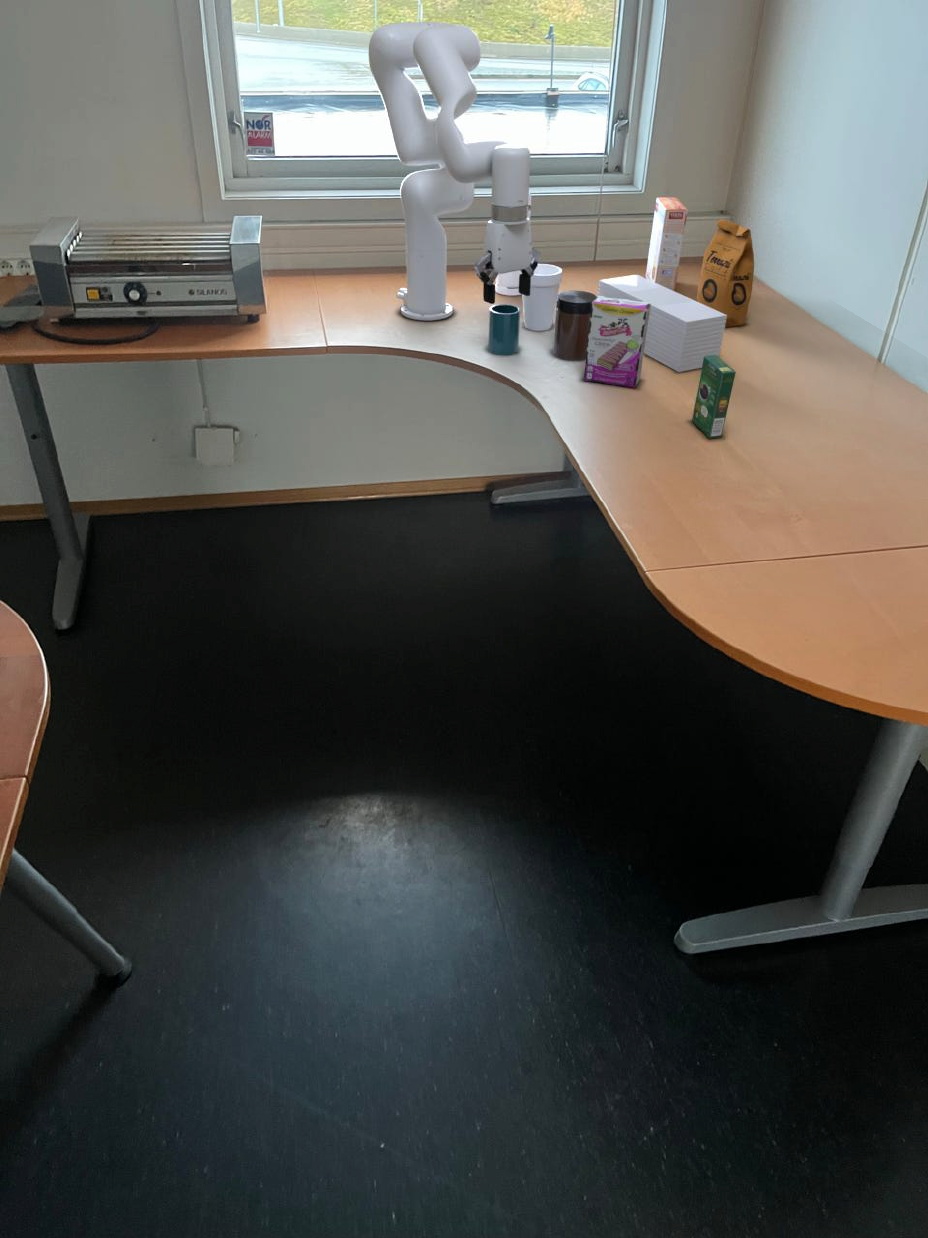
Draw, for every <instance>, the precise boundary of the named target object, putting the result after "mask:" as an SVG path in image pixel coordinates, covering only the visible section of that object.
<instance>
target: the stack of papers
mask: <svg viewBox="0 0 928 1238" xmlns="http://www.w3.org/2000/svg"><path fill="white" fill-rule="evenodd" d="M597 296H604V297H612V298H619V299H626V300H634V301H642V302H649V303H651V307H650V314H649V320H648V327H647V333H646V341H645V347H644V354H645V355H646V356H648V357H650V358H652V359H654V360H655V361H657V362H659V363H661V364H662V365H664V366H666V367H668V368H670V369H672V370H674V371H675V372H677V373H681V372H686V371H691V370H696V369H702V364H703V359H704V356H707V355H717V356H718V357H719V358H720V355H721V350H722V345H723V341H724V340H723V338H724V333H725V329H726V327H725V325H724V324H726V320H725V319H727V315H725V314H723V313H721V312H719V311H717V310H714V309H712V308H710V307H708V306H705V305H703V304H701V303H699V302H697V300H695V299H692V298H690V297H688V296H685V295H683V294H681V293H679V292H677V291H676V290H675V291H672V290H670V289H668V288H666V287H663V286H661V285H659V284H657V283H655V282H652V281H650V280H648V279H646V278H645V277H643V276H641V275H639V274H632V275H625V276H617V277H611V278H603V279H599V281H598V289H597Z"/></svg>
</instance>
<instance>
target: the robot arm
mask: <svg viewBox="0 0 928 1238" xmlns="http://www.w3.org/2000/svg"><path fill="white" fill-rule="evenodd" d="M369 39H370V40H369V44H368V64H369V68H370V73H371V76H372V79H373V81H374V84H375V86H376V88H377V91H378V93H379V95H380V97H381V100H382V102H383V105H384V108H385V113H386V118H387V121H388V126H389V129H390V133H391V138H392V140H393V146H394V149H395V152H396V155H397V158H398V159H399V161H400V163H401V164H402V165H404V166H406V167H407V166H408V167H420V166H428V165H429V166H430V165H438V166H439V168H431V169H424V170H418V171H417V170H416V171H414V172H411V173H410V174H408V175H407V176H405V177H404V179H402V182H401V185H400V189H399V196H400V202H401V207H402V210H403V211H402V212H403V219H404V228H405V230H404V231H405V264H406V265H405V266H406V268H405V269H406V270H405V271H406V272H405V273H406V288H405V287H400V288H399V290H398V292H397V293H396V298H397V299H400V300H403V304H402V305H401V307H400V313H401V315H402V316H404V317H406V318H408V319H409V320H415V321H439V320H444V319H447V318H449V317H451V316H452V315H453V312H454V311H453V306H452V305H451V304H449V303H447V266H448V265H447V263H448V262H447V255H448V253H447V251H448V250H447V247H448V245H447V234H446V231H445V229H444V227H443V225H442V224H441V221H440V220H439V216H443V215H449V214H455V213H460V212H464V211H467V210H469V208H470V207H471V206H472V205H473V202H474V199H475V184H474V183H480V182H489V181H491V207H490V209H491V210H490V211H491V212H490V220H488V221H487V223H486V227H485V232H484V240H483V249H482V256H481V257H480V258H479V259H477V261H475V262H474V263H473V268H474V270H475V273H476V276H477V278H478V279H479V280H480V282H481V283H483V288H482V289H483V295H482V297H483V302H486V303H488V304H490V305H495V303H496V291H495V282H496V277H497V276H498V274H503V273H508V272H513V271H518V270H520V271H521V272H522V274H520V276H519V287H518V288H519V293H520V294H521V295H522V294H523V295H525V296H530V287H531V277H532V276H533V275H534V270H535V269H536V267H537V266H538V264H539V261H540V259H541V257H542V252H541V251H539V250H537V249H535V248H534V247H532V246H533V245H532V244H533V243H532V241H533V240H532V228H531V219H530V220H529V219H528V211H530V210H531V211H532V204H531V205H530V204H528V201H529V193H530V176H531V175H530V174H531V152H530V149H529V148H528V147H527V146H524V145H521V144H514V143H512V142H510V141H508V140H505V139H502V138H490V139H479V140H478V139H477V140H469V141H465V139H464V135H463V132H462V130H461V127H460V126H459V125H458V123H457V121H456V120H457V119H458V118H459V117H461V116H462V115H463V114H465V113H466V112H467V111H468V110H469V109H470V108H471V107H472V106H473V104H474V103H475V101H476V99H477V94H478V90H477V85H476V84H475V82H474V80H473V79H472V76H471V74H470V73H471V72H473V71H474V70H475V69H477V67H478V66H479V64H480V62H481V58H482V47H481V42H480V39H479V38H478V35H477V34H476V32H475V31H474V30H473V29H472V28H471V27H470V26H468V25H465V24H464V25H463V24H454V23H448V22H440V21H419V22H418V21H416V22H414V21H413V22H412V21H411V22H395V23H394V22H392V23H387V24H384V25H381V26H379V27H378V28H376V29H375V30H374V31H373V32H372V35H371V37H370V38H369ZM416 69H418V70H420V72H421V74H422V77H423V78H424V81H425V82H426V84H427V86H428V88H429V90H430V93H431V95H432V96H433V99H434V101H435V103H436V105H437V107H438V109H439V110H438V113H437V115H436V116H435V115H434V116H429V115H428V114H427V112H426V109H425V105H424V101H423V97H422V93H421V91H420V90H419V88H418V86H417V84H415V82H414V81H413V80H412V79H411V77H410V76H409V75H407V74H406V71H405V70H416Z"/></svg>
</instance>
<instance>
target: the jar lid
mask: <svg viewBox="0 0 928 1238" xmlns="http://www.w3.org/2000/svg"><path fill="white" fill-rule="evenodd" d="M596 297H597V295H596V294H594V293H592V292H589V291H584V290H564V291H561V292H558V295H557V301H556V306H555V308H556V307H557V309H559V310H561V311H563V312H567V313H574V314H584V313H590V312H591V307H592V302H593V300H595V298H596Z"/></svg>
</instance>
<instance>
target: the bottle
mask: <svg viewBox="0 0 928 1238" xmlns="http://www.w3.org/2000/svg"><path fill="white" fill-rule="evenodd" d="M528 204H530V205H531V206H532V194H531V192H529V201H528ZM531 213H532V209H531V210H530V211H528V219H529V220H530V221H531V216H532V215H531ZM520 274H521V271H520V270H518V271H513V272H508V273H503V274H498V276H497V277H496V279H495V283H494V285H495V293H497V294H499V295H502V296H504V295H505V296H522V294H520V293H519V276H520Z"/></svg>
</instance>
